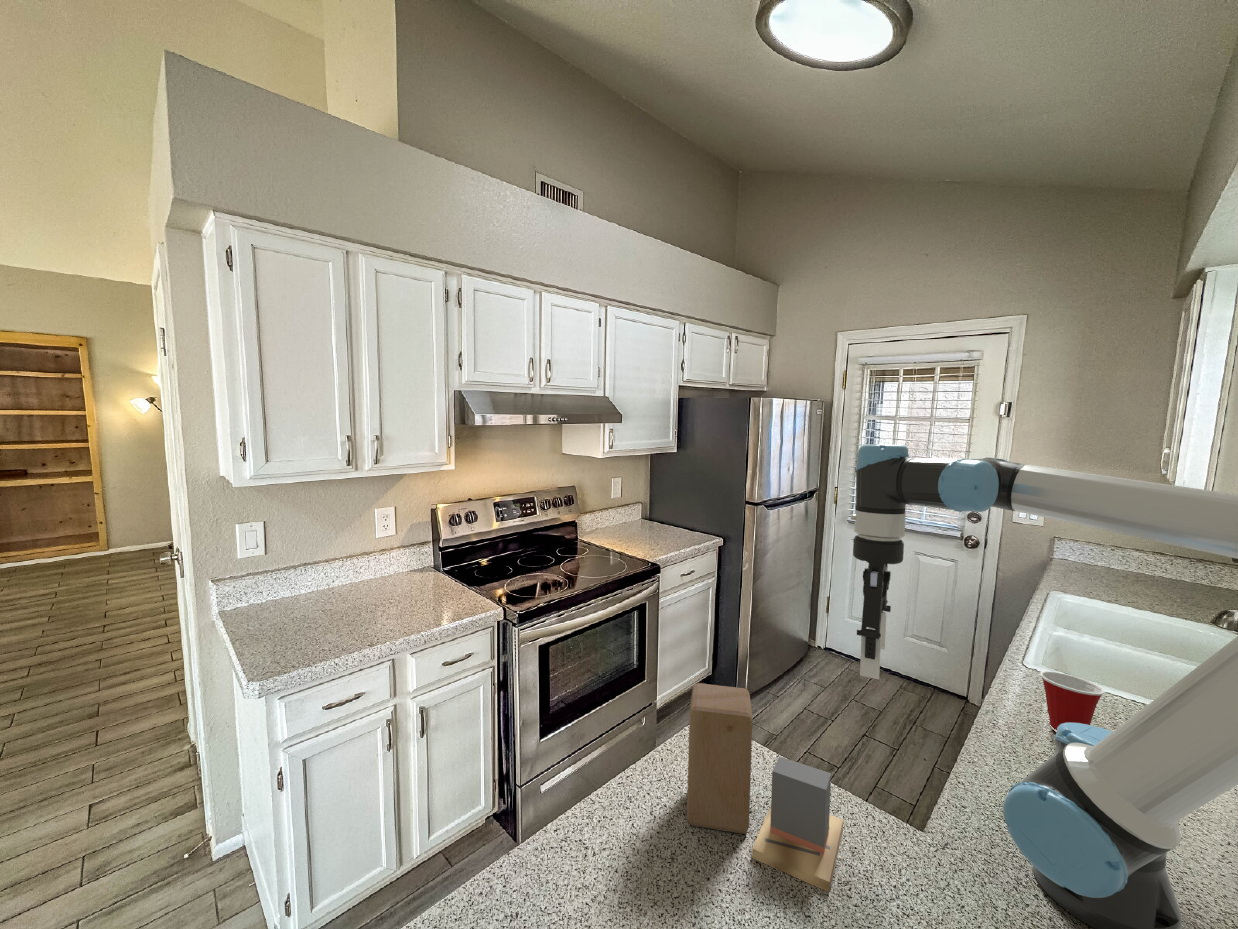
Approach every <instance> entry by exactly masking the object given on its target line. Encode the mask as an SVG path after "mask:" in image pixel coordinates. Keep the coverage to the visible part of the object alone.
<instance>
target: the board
mask: <svg viewBox="0 0 1238 929" xmlns="http://www.w3.org/2000/svg"><path fill="white" fill-rule="evenodd" d="M770 824H771V805H770V807H769V809H768V811H767V814H766V815H765V818H764V820H763V822H762V825H761V826H760V830H759V832H758V835H757V837H756V839H755V841H754V844H753V847H752V848H751V859H754V860H756V861H758V862H759V863H762V864H764V865H766V866H769V867H771V868H774V869H775V870H778V871H781V872H783V873H785V874H786V875H789V876H792V877H795V878H797V879H799V880H801V881H803V882H806V883H807V884H809V885H812V886H814V887H816V888H818V889H821V890H823V891H826V892H828V893H830V891H831V886H832V881H833V876H834V872H835V868H836V862H837V858H838V852H839V850H840V845H841V839H842V835H843V830H844V819H843V818H839V817H838V816H835V815H832V814H829V835H828V839H827V843H826V847H825V851H824V854H822V853H820V852H817V851H815V850H812V849H810V848H807V847H805V846H803V845H800V844H798V843H795V842H793V841H790V840H788V839H785V838H783V837H781V836H778V835H776V834H773V833H771V832H770Z"/></svg>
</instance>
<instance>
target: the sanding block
mask: <svg viewBox="0 0 1238 929" xmlns="http://www.w3.org/2000/svg"><path fill="white" fill-rule="evenodd" d="M831 782H832V773H831V772H828V771H825V770H822V769H818V768H816V767H814V766H813V767H812V766H810V765H807V764H803V763H800V762H797V761H795V760H791V759H788V758H786V757H783V756H778V758H777V760H776V762H775V764H774V767H773V769H772V774H771V796H770V797H771V799H770V800H771V802H770V806H771V824H770V832H771V833H773V834H776V835H778V836H781V837H783V838H785V839H788V840H790V841H793V842H795V843H798V844H800V845H803V846H805V847H807V848H810V849H812V850H815V851H817V852H820V853H822V854H824V851H825V847H826V843H827V839H828V835H829V815H830V814H831V813H830V810H831V808H830V807H831V786H832V785H831Z"/></svg>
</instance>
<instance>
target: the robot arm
mask: <svg viewBox="0 0 1238 929" xmlns="http://www.w3.org/2000/svg"><path fill="white" fill-rule="evenodd" d="M857 451H858V452H857V458H856V460H857V461H856V468H855V507H854V508H855V511H854V513H855V514H851V515H850V519H851V520H852V521H854V532H855V533H856V535H855V536H854V537H853V545H852V546H853V547H852V550H853V551H852V555H853V557H854V558H855V559H856V560H858V561H862V562H866V563H868V566H867V567H864V570H863V572H862V581H863V586H862V594H863V603H862V605H863V606H862V616H861V628H860V629H856V635H857V636H860V637H861V640H860V641H861V643H860V662H859V663H860V664H859V665H860V667H859V676H861V677H866V678H871V679H875V680H880V670H881V669H880V668H881V664H880V663H881V650H884V651H885V649H886V634H887V633H886V631H887V613H891V610H892V609H891V608H892V605H887V604H888V603H889V602H888V590H889V586H890V581H891V575H892V573H891V570H888V565H898V564H902V563H903V561H904V549H905V548H904V547H905V542H904V540H902V538H904V537H905V535H906V534H905V533H906V518H907V517H906V516H907V515H906V507H907V505H908V506H919V507H921V506H922V507H928V508H936V509H937V508H938V509H945V510H951V511H952V510H953V511H954V512H958V513H961V512H971V513H972V512H974V513H975V512H976V513H983V512H986V511H988V510H989V509H990V508H996V509H1000V510H1001V509H1002V510H1006V511H1013V512H1016V513H1017V512H1019V513H1023V514H1028V515H1032V516H1037V517H1042V518H1046V519H1050V520H1055V521H1060V522H1065V523H1070V524H1074V525H1078V526H1083V527H1088V528H1093V529H1097V530H1102V531H1106V532H1107V531H1108V532H1112V533H1117V534H1119V535H1120V534H1121V535H1125V536H1129V537H1134V538H1139V539H1143V540H1144V539H1145V540H1148V541H1154V542H1159V543H1162V544H1166V545H1167V544H1168V545H1172V546H1177V547H1181V548H1185V549H1191V550H1196V551H1199V552H1206V553H1210V554H1214V555H1219V556H1224V557H1226V558H1227V557H1228V558H1232V559H1238V494H1237V493H1229V492H1223V491H1216V490H1210V489H1209V490H1208V489H1204V488H1203V489H1201V488H1195V487H1189V486H1188V487H1187V486H1181V485H1175V484H1167V483H1160V482H1152V481H1146V480H1138V479H1132V478H1125V477H1117V476H1111V475H1110V476H1109V475H1105V474H1098V473H1097V474H1096V473H1090V472H1083V471H1076V470H1069V469H1061V468H1055V467H1048V466H1041V465H1034V464H1025V463H1019V462H1014V461H1013V462H1012V461H1009V460H1006V459H1003V458H997V457H985V458H932V457H930V458H926V457H925V458H924V457H923V458H920V457H911V456H910V454H909V449H908V447H907V446H906V445H903V444H900V445H899V444H863V445H861V446H860V447H859V449H858V450H857ZM1054 739H1055V748H1054V753H1053V755H1051V757H1049V758H1048V759H1047V760H1045V761H1044V762H1043V763H1042V764H1040V765H1039V766H1038V767H1037V768H1035V769H1034V771H1032V772H1031V773H1030V774H1028V776H1026V777H1025V778H1024V779H1022V780H1021V781H1019V782H1017V783H1015V784H1013V785H1012V786H1011V787H1010V788H1009V790H1008V794H1007V795H1006V796H1005V798H1004V801H1003V806H1002V813H1003V814H1002V815H1003V818H1004V821H1005V824H1006V829H1007V832H1008V833H1009V835H1010V837H1011V839H1012V841H1013V842H1014V844H1015V845H1016V847H1017V848H1018V850H1019V851H1020V852H1021V854H1022V855H1023V857H1025V858H1026V859H1027V861H1028V862H1029V863H1030V864H1031V865H1032V871H1033V875H1034V876H1035V879H1036V881H1037V882H1038V885H1039V886H1040V887H1041V888H1042V889H1043V891H1045V893H1046V894H1047V895H1048V896H1049V897H1050V898H1051V899H1052V900H1053V901H1054V902H1055V903H1056V904H1058V905H1059V906H1060V907H1061V908H1062V909H1064V910H1065V911H1067V913H1069V914H1071V915H1072V916H1073V917H1074V918H1076V919H1077V920H1079V921H1081V922H1082V923H1084V924H1086V925H1087V926H1089V927H1091V928H1093V929H1182V927H1183V926H1182V925H1183V920H1182V914H1181V909H1180V907H1179V904H1178V901H1177V899H1176V896H1175V893H1174V889H1173V887H1172V884H1171V881H1170V878H1169V875H1168V872H1167V869H1166V864H1167V853H1168V852H1169V851H1171V850H1174V849H1175V848H1176V847H1178V846H1179V845H1180V843H1181V840H1182V838H1181V837H1182V836H1181V831H1180V827H1179V825H1178V824H1179V823H1178V821H1180V820H1182V819H1184V818H1185V817H1187V816H1188V815H1190V814H1192V813H1194V812H1195V811H1197V810H1199V809H1200V808H1201V807H1204V806H1205V805H1206V804H1208V803H1210V802H1212V801H1213V800H1216V799H1217V798H1218V797H1219V796H1222V795H1223V794H1225V793H1226V792H1228V791H1230V790H1231V789H1234V788H1235V787H1237V786H1238V635H1237V636H1235V637H1234V639H1232V640H1231V641H1229V642H1228V643H1226V644H1225V645H1224V646H1223V647H1222V648H1220V649H1219V650H1217V652H1215V653H1213V654H1212V655H1211V656H1210V657H1208V658H1207V659H1206V660H1205V661H1203V662H1201V664H1200V665H1197V667H1196V668H1194V669H1193V670H1191V671H1190V672H1189V673H1188V674H1186V675H1184V676H1183V677H1182V678H1181V679H1180V680H1178V681H1177V682H1176V683H1174V684H1173V685H1172V686H1170V688H1168V689H1167V690H1165V691H1164V692H1163V693H1162V694H1160V695H1159V696H1158V697H1156V698H1155V699H1154V700H1153V701H1151V702H1149V704H1147V705H1146V706H1144V707H1143V708H1142V709H1140V710H1139V711H1138V712H1137V713H1135V714H1134V715H1133V716H1131V717H1129V719H1128V720H1126V721H1124V723H1122V724H1121V725H1119V726H1118V727H1117V728H1115V729H1114V730H1109V729H1106V728H1103V727H1099V726H1095V725H1091V724H1090V725H1087V724H1081V723H1063V724H1060V725H1059V726H1058V728H1057V732H1056V733H1055V735H1054Z"/></svg>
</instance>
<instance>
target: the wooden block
mask: <svg viewBox="0 0 1238 929" xmlns="http://www.w3.org/2000/svg"><path fill="white" fill-rule="evenodd" d="M692 686H693V687H692V689H691V697H690V708H689V718H688V719H689V720H688V723H689V725H688V726H689V728H688V761H687V762H688V763H687V764H688V765H687V767H688V768H687V796H686V797H687V798H686V799H687V800H686V802H687V804H686V818H687V819H686V820H687V822H688V824H690V825H691V826H694V827H700V828H705V829H712V830H719V831H724V832H731V833H737V834H742V835H743V834H747V832H748V830H749V828H750V809H751V808H750V806H751V804H750V802H751V778H752V775H751V774H752V772H751V770H752V746H753V739H752V738H753V713H752V702H751V694H750V692H749V690H748V689H746V688H744V687H743V688H742V687H737V686H736V687H735V686H726V685H717V684H710V683H709V684H707V683H699V682H697V683H694V685H692Z"/></svg>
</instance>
